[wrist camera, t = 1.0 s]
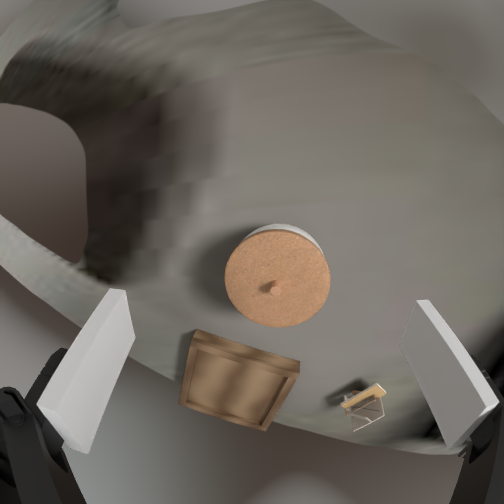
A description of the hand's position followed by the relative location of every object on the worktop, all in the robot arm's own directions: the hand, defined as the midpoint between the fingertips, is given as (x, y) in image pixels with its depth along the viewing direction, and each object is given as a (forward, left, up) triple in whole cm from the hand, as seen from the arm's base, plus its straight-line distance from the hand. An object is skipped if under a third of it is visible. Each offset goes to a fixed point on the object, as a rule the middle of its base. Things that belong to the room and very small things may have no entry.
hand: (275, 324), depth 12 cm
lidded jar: (-1, +6, -24) cm, 25 cm away
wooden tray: (-1, +29, -24) cm, 37 cm away
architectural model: (-21, +24, -24) cm, 40 cm away
